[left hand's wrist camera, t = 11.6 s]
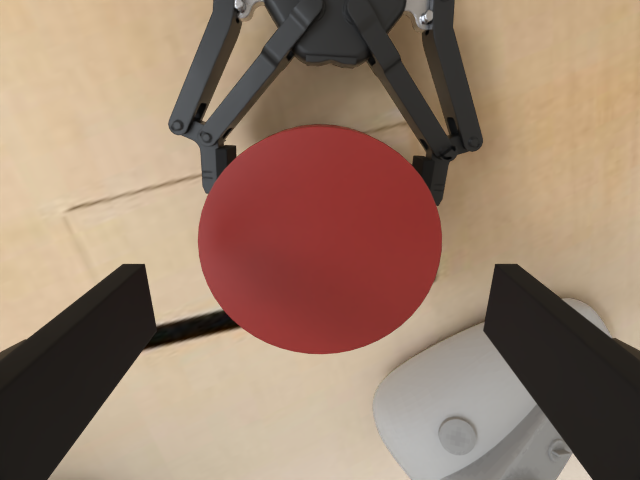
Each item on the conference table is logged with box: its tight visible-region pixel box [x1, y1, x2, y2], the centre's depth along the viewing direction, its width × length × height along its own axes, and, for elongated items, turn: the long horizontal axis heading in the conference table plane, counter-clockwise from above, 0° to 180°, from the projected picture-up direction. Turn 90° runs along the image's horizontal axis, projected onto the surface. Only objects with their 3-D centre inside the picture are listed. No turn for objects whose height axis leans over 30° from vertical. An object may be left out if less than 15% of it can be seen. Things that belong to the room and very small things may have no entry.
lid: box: [198, 124, 442, 354], centre depth 18 cm, size 11×11×2 cm
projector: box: [373, 298, 612, 480], centre depth 32 cm, size 22×23×15 cm
